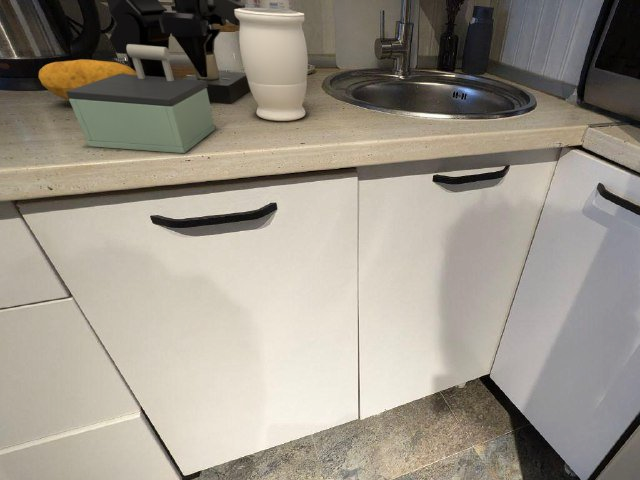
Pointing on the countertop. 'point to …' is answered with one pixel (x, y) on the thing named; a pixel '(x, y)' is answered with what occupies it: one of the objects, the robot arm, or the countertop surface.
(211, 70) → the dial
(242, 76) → the block
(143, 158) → the countertop surface
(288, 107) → the jar
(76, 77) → the potato
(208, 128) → the green box
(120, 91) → the box lid
